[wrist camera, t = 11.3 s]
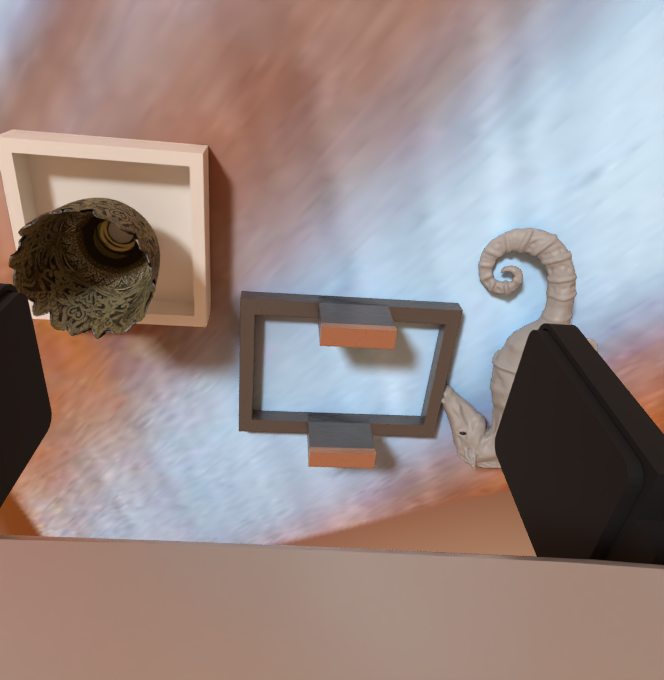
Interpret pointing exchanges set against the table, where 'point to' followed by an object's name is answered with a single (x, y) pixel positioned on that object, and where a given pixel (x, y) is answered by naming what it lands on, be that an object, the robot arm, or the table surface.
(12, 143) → the tray
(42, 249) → the cup
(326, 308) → the frame
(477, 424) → the seahorse
